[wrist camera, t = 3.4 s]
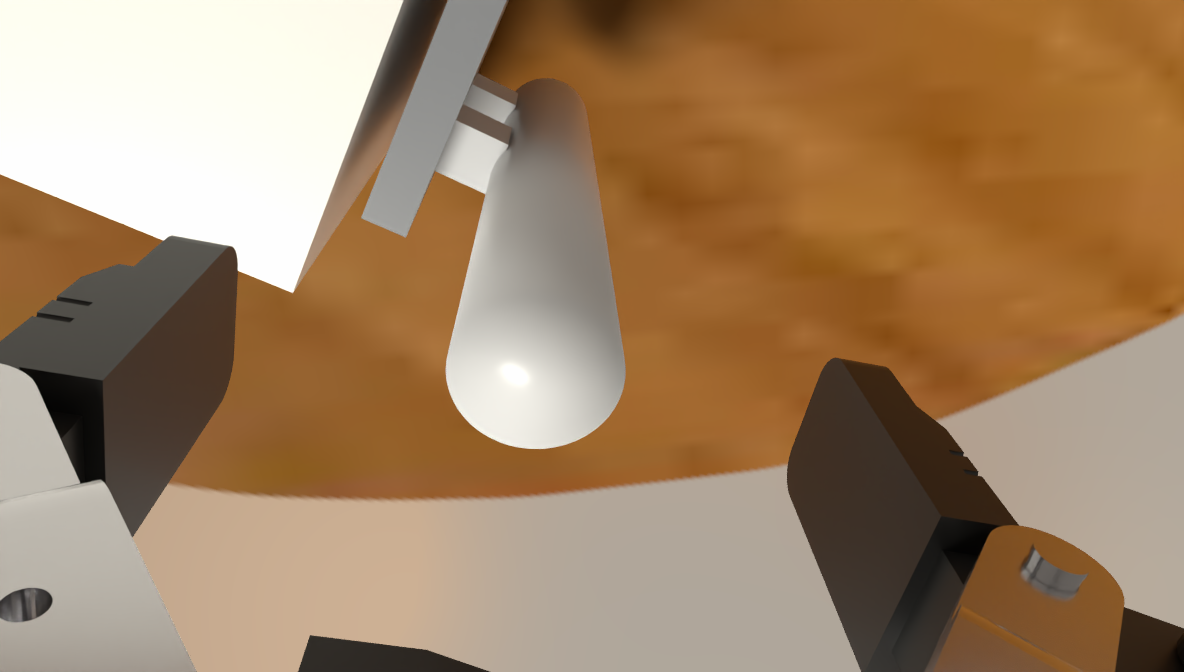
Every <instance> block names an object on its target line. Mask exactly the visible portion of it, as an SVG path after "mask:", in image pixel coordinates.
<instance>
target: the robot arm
mask: <svg viewBox="0 0 1184 672" xmlns="http://www.w3.org/2000/svg"><path fill="white" fill-rule="evenodd" d="M237 275H238V259H237V254H236V250H235V248H234V247H233V246H228V245H222V244H217V243H211V242H206V241H200V240H195V239H190V238H184V237H179V236H173V235H172V236H169V237H167V238H166V239H165V240H164V241H163V242H161V243H160V244H159V245H158V246H157V247H156V248H155V249H153V250H152V251H151V252H150V253H149V254H148V255H147V256H145V257H144V258H143V259H142V260H141V261H140V262H139V263H137V264H136V265H135V266H134V267H133V266H127V265H121V264H118V265H115V266H112V267H109V268H106V269H103V270H101V271H98V272H95V273H92V274H89V275H86V276H83V277H81V278H79V279H78V280H77V281H76V282H74V283H73V284H72V285H71V286H69V287H68V288H67V289H66V290H64V291H63V292H62V293H61V294H59V295H58V296H57V300H56V301H55V300H52V301H51V302H49V303H48V304H47V305H46V306H44V307H43V308H42V309H41V310H39V311H38V312H37V316H36V317H33V316H32V317H31V318H29V319H28V320H27V321H26V322H24V323H23V324H22V325H21V326H19V327H18V328H17V329H15V330H14V331H13V332H12V333H10V334H9V335H8V336H7V337H5V338H4V339H3V340H2V341H0V672H197V671H196V669H195V667H194V665H193V663H192V661H191V659H190V657H189V655H188V653H187V651H186V648H185V646H184V644H183V642H182V640H181V638H180V636H179V634H178V632H177V630H176V628H175V626H174V624H173V621H172V620H171V617H170V615H169V613H168V611H167V609H166V607H165V605H164V603H163V601H162V599H161V597H160V594H159V592H158V590H157V588H156V586H155V584H154V582H153V580H152V578H151V576H150V574H149V572H148V570H147V567H146V565H145V563H144V561H143V559H142V557H141V555H140V553H139V551H138V549H137V547H136V545H135V543H134V540H133V538H132V537H133V536H134V534H135V533H136V531H137V530H138V528H139V526H140V525H141V524H142V522H143V521H144V519H145V517H146V516H147V514H148V513H149V511H150V510H151V508H152V507H153V505H154V504H155V502H156V501H157V499H158V498H159V496H160V495H161V493H162V492H163V490H164V488H165V487H166V486H167V484H168V483H169V481H170V479H171V478H172V476H173V475H174V473H175V472H176V470H177V469H178V467H179V466H180V464H181V463H182V461H183V460H184V458H185V457H186V455H187V454H188V452H189V451H190V449H191V448H192V446H193V445H194V443H195V441H196V440H197V438H198V437H199V435H200V434H201V432H202V431H203V429H204V428H205V426H206V425H207V423H208V422H209V420H210V419H211V417H212V416H213V414H214V413H215V411H216V410H217V408H218V406H219V405H220V403H221V402H222V400H223V398H224V395H225V393H226V390H227V387H228V384H229V380H230V376H231V372H232V366H233V358H234V340H235V318H236V297H237ZM963 453H964V452H963V451H962V450H961V448H960V447H959V446H958V444H957V443H956V442H955V440H954V439H953V438H952V436H951V435H950V434H949V432H948V431H947V430H946V429H945V428H944V427H943V426H941V425H940V424H939V423H938V422H936V421H935V420H934V419H932V418H931V417H930V416H929V415H927V414H926V413H925V412H923V411H922V410H921V409H920V408H918V407H917V406H916V405H915V404H914V402H913V401H912V399H911V398H910V397H909V395H908V394H907V393H906V391H905V390H904V388H903V387H902V386H901V384H900V383H899V382H898V380H897V379H896V378H895V376H894V375H893V373H892V372H891V371H890V370H889V369H888V368H887V367H883V366H878V365H873V364H867V363H862V362H856V361H851V360H845V359H840V358H833V359H831V360H830V361H829V362H828V363H827V364H826V365H825V366H824V368H823V370H822V372H821V374H820V376H819V379H818V382H817V384H816V387H815V390H814V392H813V395H812V397H811V400H810V403H809V405H808V408H807V410H806V413H805V416H804V418H803V421H802V424H801V426H800V429H799V431H798V434H797V437H796V439H795V442H794V445H793V447H792V450H791V453H790V457H789V462H788V469H787V485H788V491H789V495H790V497H791V500H792V502H793V504H794V507H795V509H796V512H797V515H798V517H799V519H800V522H801V524H802V527H803V529H804V532H805V534H806V537H807V539H808V542H809V544H810V546H811V549H812V552H813V554H814V556H815V559H816V561H817V564H818V566H819V569H820V571H821V574H822V576H823V578H824V581H825V583H826V586H827V588H828V591H829V593H830V596H831V598H832V601H833V603H834V606H835V608H836V611H837V613H838V615H839V618H840V620H841V623H842V625H843V628H844V630H845V633H846V635H847V638H848V640H849V642H850V645H851V647H852V650H853V652H854V655H855V657H856V660H857V662H858V664H859V667H860V669H861V672H1184V628H1181V627H1178V626H1175V625H1173V624H1170V623H1167V622H1164V621H1161V620H1159V619H1156V618H1153V617H1150V616H1147V615H1144V614H1142V613H1139V612H1136V611H1133V610H1131V609H1127V608H1125V607H1124V596H1123V593H1122V590H1121V588H1120V587H1119V585H1118V583H1117V582H1116V580H1115V579H1114V578H1113V577H1112V575H1111V574H1110V573H1109V572H1108V571H1107V570H1106V569H1105V568H1104V567H1103V566H1101V565H1100V564H1099V563H1098V562H1097V561H1095V560H1094V559H1093V558H1092V557H1090V556H1089V555H1088V554H1086V553H1085V552H1083V551H1082V550H1080V549H1078V548H1077V547H1075V546H1074V545H1072V544H1070V543H1068V542H1066V541H1064V540H1062V539H1060V538H1058V537H1056V536H1053V535H1051V534H1048V533H1046V532H1043V531H1040V530H1037V529H1033V528H1029V527H1024V526H1019V525H1018V524H1017V522H1016V521H1015V520H1014V519H1013V517H1012V516H1011V514H1010V513H1009V512H1008V510H1007V509H1006V508H1005V506H1004V505H1003V504H1002V503H1001V501H1000V500H999V498H998V497H997V496H996V494H995V493H994V492H993V490H992V489H991V488H990V487H989V485H988V484H987V483H986V482H985V480H984V479H983V477H981V476H978V471H977V469H976V468H975V467H974V466H973V464H972V463H971V461H970V460H969V459H968V457H963ZM298 672H489V671H486V670H483V669H480V668H478V667H474V666H472V665H469V664H466V663H463V662H460V661H457V660H454V659H451V658H448V657H445V656H443V655H440V654H437V653H434V652H431V651H428V650H423V649H415V648H406V647H399V646H391V645H383V644H374V643H367V642H359V641H351V640H342V639H335V638H327V637H319V636H311V635H310V637H309V640H308V643H307V647H306V650H305V652H304V656H303V659H302V662H301V665H300V668H299V671H298Z"/></svg>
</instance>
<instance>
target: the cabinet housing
mask: <svg viewBox="0 0 1184 672" xmlns="http://www.w3.org/2000/svg"><path fill="white" fill-rule="evenodd" d="M447 1H448V0H0V174H1V175H4V176H6V177H9V178H11V179H14V180H16V181H18V182H21V183H23V184H26V185H28V186H31V187H33V188H36V189H38V190H41V191H43V192H46V193H48V194H51V195H53V196H55V197H58V198H60V199H63V200H65V201H68V202H70V203H73V204H75V205H78V206H80V207H83V208H85V209H88V210H90V211H92V212H95V213H97V214H100V215H102V216H105V217H107V218H110V219H112V220H115V221H117V222H120V223H122V224H125V225H127V226H129V227H132V228H134V229H137V230H139V231H142V232H144V233H147V234H149V235H152V236H154V237H157V238H159V239H161V240H165V239H166V238H167V237H169V236H172V235H173V236H179V237H184V238H190V239H195V240H200V241H206V242H211V243H217V244H222V245H228V246H233V247H234V248H235V250H236V254H237V259H238V271H240V272H243V273H245V274H248V275H250V276H253V277H255V278H258V279H260V280H263V281H265V282H268V283H270V284H272V285H275V286H277V287H280V288H282V289H285V290H287V291H290V292H292V293H293V292H294V290H295V289H296V287H297V286H298V284H299V283H300V281H301V280H302V278H303V277H304V276H305V274H306V273H307V271H308V270H309V268H310V267H311V265H312V264H313V262H314V261H315V259H316V258H317V256H318V255H319V253H320V252H321V250H322V249H323V247H324V246H325V244H326V243H327V241H328V240H329V238H330V237H331V235H332V234H333V232H334V231H335V229H336V228H337V226H338V225H339V223H340V222H341V220H342V219H343V217H344V216H345V214H346V213H347V211H348V210H349V208H350V207H351V205H352V204H353V202H354V201H355V199H356V198H357V196H358V195H359V193H360V192H361V190H362V189H363V187H364V186H365V184H366V183H367V181H368V180H369V178H370V177H371V175H372V174H373V173H374V171H375V170H376V168H377V167H378V165H379V164H380V162H381V161H382V159H383V158H384V156H385V155H386V153H387V152H388V149H389V147H390V144H391V142H392V139H393V137H394V134H395V132H396V129H397V127H398V124H399V122H400V119H401V117H402V114H403V112H404V109H405V107H406V104H407V102H408V99H409V97H410V94H411V92H412V89H413V87H414V84H415V82H416V79H417V77H418V74H419V72H420V69H421V67H422V64H423V62H424V59H425V57H426V54H427V52H428V49H429V47H430V44H431V42H432V39H433V37H434V34H435V31H436V29H437V26H438V24H439V21H440V19H441V16H442V14H443V11H444V9H445V6H446V4H447Z"/></svg>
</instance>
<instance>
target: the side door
mask: <svg viewBox="0 0 1184 672" xmlns="http://www.w3.org/2000/svg"><path fill="white" fill-rule="evenodd" d="M508 1H509V0H448V1H447V4H446V6H445V9H444V11H443V14H442V16H441V19H440V21H439V24H438V26H437V29H436V31H435V34H434V37H433V39H432V42H431V44H430V47H429V49H428V52H427V54H426V57H425V59H424V62H423V64H422V67H421V69H420V72H419V74H418V77H417V79H416V82H415V84H414V87H413V89H412V92H411V94H410V97H409V99H408V102H407V104H406V107H405V109H404V112H403V114H402V117H401V119H400V122H399V124H398V127H397V129H396V132H395V134H394V137H393V139H392V142H391V144H390V147H389V149H388V152H387V154H386V157H385V159H384V162H383V164H382V167H381V169H380V172H379V175H378V177H377V180H376V182H375V185H374V187H373V190H372V192H371V195H370V197H369V200H368V202H367V205H366V207H365V210H364V212H363V215H362V217H361V218H362V219H365V220H367V221H369V222H371V223H374V224H376V225H378V226H381V227H383V228H385V229H388V230H390V231H392V232H395V233H397V234H399V235H401V236H404V237H406V236H407V234H408V231H409V229H410V227H411V225H412V222H413V220H414V218H415V216H416V213H417V211H418V209H419V207H420V204H421V202H422V200H423V198H424V195H425V193H426V191H427V189H428V186H429V184H430V182H431V180H432V177H433V175H434V173H435V171H436V172H439V173H441V174H443V175H445V176H447V177H449V178H452V179H454V180H456V181H458V182H460V183H463V184H465V185H467V186H469V187H471V188H474V189H476V190H478V191H480V192H482V193H485V194H486V195H485V199H484V203H483V208H482V212H481V216H480V220H479V224H478V229H477V233H476V237H475V241H474V246H473V250H472V254H471V258H470V262H469V267H468V271H467V275H466V279H465V283H464V288H463V292H462V296H461V300H460V305H459V309H458V313H457V317H456V321H455V326H454V330H453V334H452V338H451V343H450V347H449V351H448V356H447V360H446V378H447V384H448V388H449V392H450V394H451V397H452V399H453V401H454V403H455V405H456V407H457V408H458V410H459V411H460V413H461V414H462V415H463V417H464V418H465V419H466V420H467V421H468V422H469V423H470V424H471V425H472V426H473V427H475V428H476V429H477V430H479V431H480V432H481V433H483V434H485V435H486V436H488V437H490V438H492V439H494V440H496V441H498V442H501V443H504V444H507V445H510V446H515V447H520V448H529V449H545V448H553V447H558V446H562V445H566V444H569V443H571V442H574V441H577V440H579V439H581V438H583V437H585V436H586V435H588V434H589V433H591V432H592V431H594V430H595V429H596V428H598V427H599V426H600V425H601V424H602V423H603V422H604V421H605V420H606V419H607V418H608V417H609V416H610V414H611V413H612V411H613V410H614V408H615V407H616V405H617V403H618V401H619V399H620V397H621V394H622V391H623V387H624V382H625V360H624V353H623V346H622V340H621V333H620V327H619V320H618V314H617V307H616V300H615V294H614V287H613V281H612V274H611V267H610V261H609V254H608V248H607V241H606V235H605V228H604V221H603V215H602V208H601V202H600V195H599V188H598V182H597V175H596V169H595V162H594V155H593V149H592V142H591V136H590V129H589V123H588V116H587V111H586V107H585V105H584V102H583V100H582V99H581V97H580V96H579V94H578V93H577V92H576V91H575V90H574V89H573V88H572V87H570V86H569V85H567V84H565V83H564V82H561V81H559V80H555V79H549V78H542V79H536V80H532V81H530V82H528V83H526V84H524V85H522V86H521V87H520V88H519V89H517V90H516V91H513V90H511V89H509V88H507V87H505V86H503V85H501V84H499V83H497V82H495V81H493V80H490V79H488V78H486V77H484V76H482V75H480V74H478V72H479V69H480V67H481V65H482V62H483V60H484V58H485V55H486V53H487V51H488V48H489V46H490V44H491V41H492V39H493V37H494V34H495V32H496V30H497V27H498V25H499V23H500V20H501V18H502V15H503V13H504V11H505V8H506V6H507V4H508Z"/></svg>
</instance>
